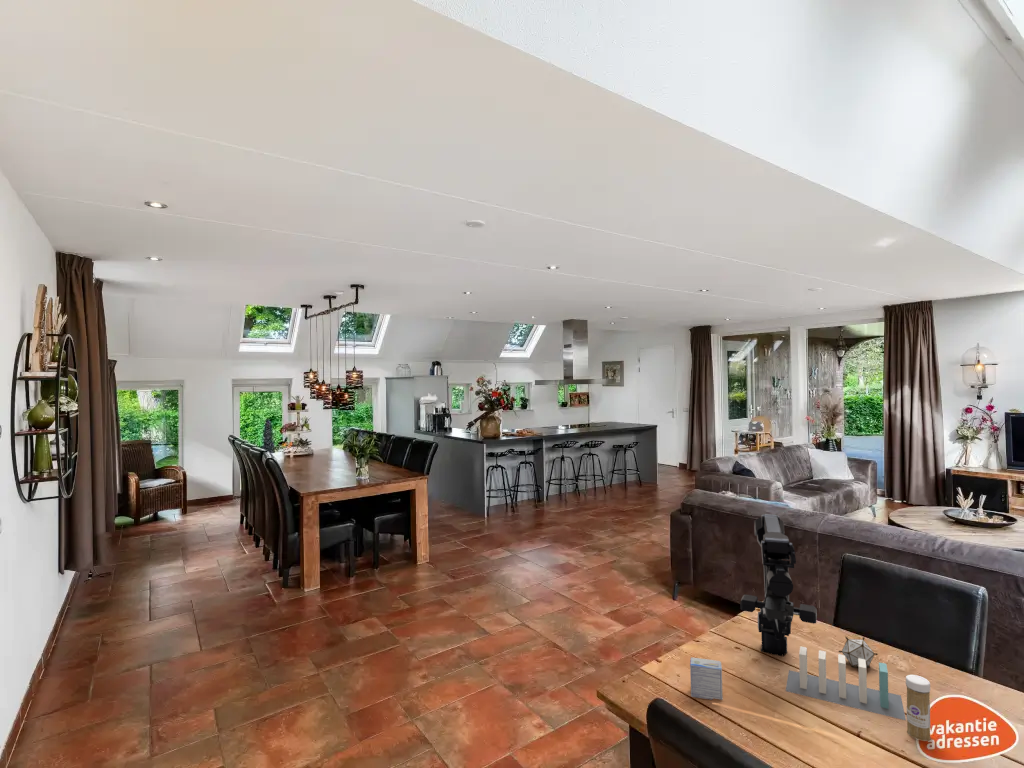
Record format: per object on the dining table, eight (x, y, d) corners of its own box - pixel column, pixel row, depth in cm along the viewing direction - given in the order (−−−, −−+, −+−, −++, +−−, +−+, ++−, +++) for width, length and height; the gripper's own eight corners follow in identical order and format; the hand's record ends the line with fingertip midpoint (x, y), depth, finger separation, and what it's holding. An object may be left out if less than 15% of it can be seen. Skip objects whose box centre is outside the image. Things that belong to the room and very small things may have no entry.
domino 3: (839, 697, 141) (838, 662, 141) (839, 687, 145) (838, 654, 145) (846, 698, 140) (845, 663, 140) (846, 689, 144) (845, 655, 144)
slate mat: (785, 693, 144) (785, 690, 144) (788, 672, 154) (788, 670, 154) (906, 722, 131) (905, 720, 131) (900, 697, 141) (900, 695, 141)
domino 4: (859, 701, 139) (858, 666, 139) (858, 692, 143) (858, 658, 143) (867, 703, 138) (866, 668, 138) (866, 693, 142) (865, 659, 142)
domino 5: (880, 707, 136) (880, 671, 136) (879, 697, 140) (878, 662, 141) (888, 708, 135) (887, 672, 135) (887, 698, 140) (886, 663, 140)
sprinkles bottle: (905, 738, 125) (904, 679, 125) (907, 728, 129) (906, 671, 129) (931, 746, 122) (929, 686, 122) (932, 736, 126) (930, 678, 126)
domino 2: (819, 692, 143) (818, 658, 143) (819, 683, 147) (819, 650, 147) (826, 693, 142) (825, 659, 142) (826, 684, 147) (825, 651, 147)
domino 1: (799, 687, 145) (799, 654, 145) (800, 678, 150) (800, 646, 150) (806, 689, 145) (806, 655, 145) (807, 680, 149) (806, 647, 149)
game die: (859, 676, 158) (872, 644, 161) (875, 680, 150) (888, 647, 153) (829, 657, 161) (842, 626, 163) (842, 661, 153) (856, 628, 155)
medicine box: (722, 693, 145) (721, 660, 145) (722, 702, 140) (722, 669, 141) (691, 688, 147) (690, 656, 147) (690, 697, 143) (690, 664, 143)
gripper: (736, 586, 148) (737, 643, 148) (814, 599, 139) (816, 660, 139) (742, 573, 158) (743, 627, 158) (816, 585, 148) (817, 642, 148)
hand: (778, 639), depth 150 cm, fingers closed
